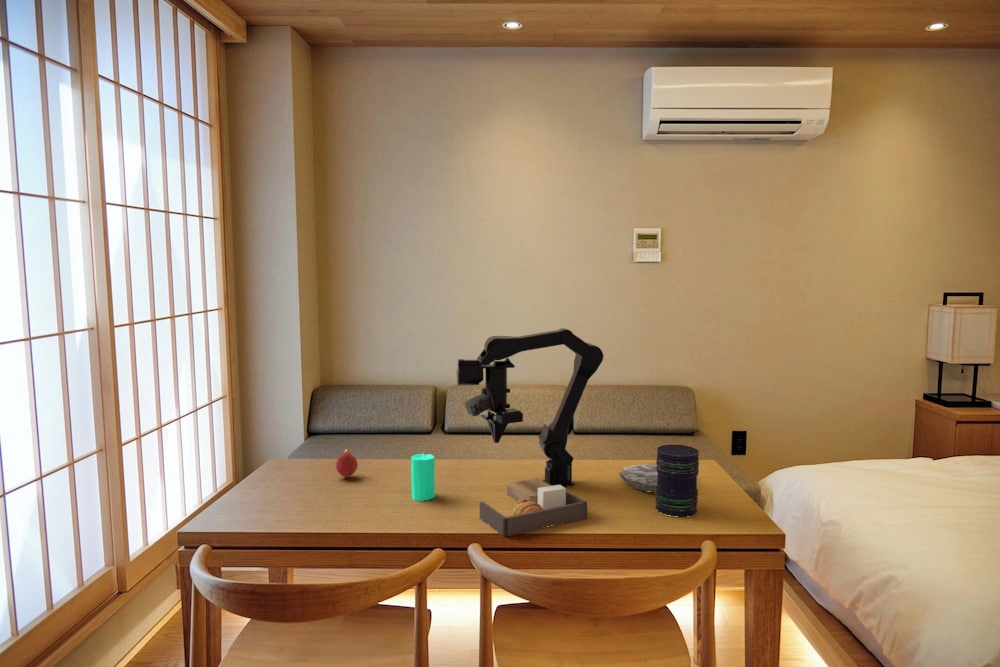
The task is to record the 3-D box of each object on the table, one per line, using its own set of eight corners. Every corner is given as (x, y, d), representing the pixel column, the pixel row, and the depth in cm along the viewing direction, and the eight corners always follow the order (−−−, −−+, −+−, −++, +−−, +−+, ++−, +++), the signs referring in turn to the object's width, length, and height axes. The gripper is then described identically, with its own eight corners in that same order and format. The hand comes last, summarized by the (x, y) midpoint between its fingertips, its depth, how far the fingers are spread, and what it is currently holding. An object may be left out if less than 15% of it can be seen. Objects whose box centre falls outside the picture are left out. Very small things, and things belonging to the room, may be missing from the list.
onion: (355, 481, 185) (354, 452, 184) (334, 481, 185) (333, 452, 184) (359, 474, 191) (359, 447, 190) (339, 474, 191) (338, 446, 190)
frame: (558, 502, 169) (558, 486, 168) (586, 518, 158) (587, 502, 158) (479, 518, 158) (479, 502, 158) (504, 536, 148) (504, 519, 148)
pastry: (553, 524, 156) (553, 508, 155) (528, 530, 153) (528, 513, 152) (533, 510, 164) (532, 495, 163) (508, 516, 161) (508, 500, 160)
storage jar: (652, 514, 161) (653, 453, 159) (658, 501, 170) (659, 442, 168) (695, 520, 157) (697, 457, 156) (699, 506, 166) (701, 446, 165)
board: (537, 489, 179) (537, 478, 178) (560, 502, 169) (560, 490, 169) (507, 494, 174) (507, 483, 174) (529, 508, 165) (529, 496, 165)
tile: (559, 484, 164) (565, 488, 162) (559, 508, 165) (565, 512, 162) (537, 487, 162) (543, 491, 159) (537, 512, 163) (543, 516, 160)
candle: (431, 501, 170) (430, 455, 168) (408, 499, 171) (407, 453, 169) (438, 493, 175) (437, 448, 174) (416, 491, 177) (415, 447, 175)
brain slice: (627, 470, 195) (627, 460, 195) (688, 477, 189) (688, 467, 189) (612, 492, 177) (612, 481, 177) (679, 500, 171) (679, 489, 171)
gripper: (453, 381, 182) (453, 438, 184) (485, 393, 166) (485, 455, 168) (490, 378, 187) (490, 433, 189) (524, 389, 171) (524, 449, 173)
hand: (496, 442), depth 179 cm, fingers closed
